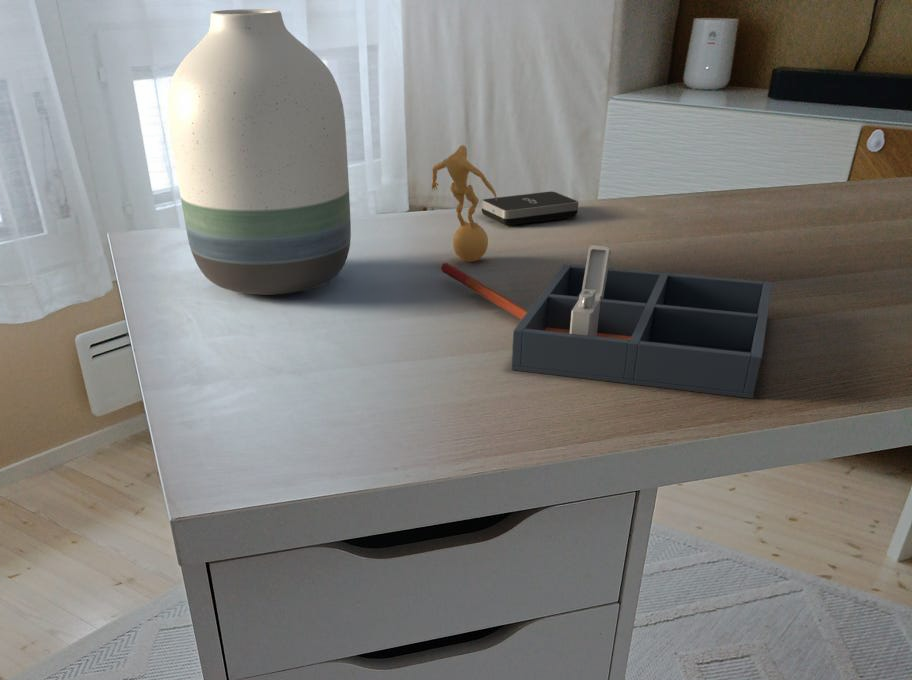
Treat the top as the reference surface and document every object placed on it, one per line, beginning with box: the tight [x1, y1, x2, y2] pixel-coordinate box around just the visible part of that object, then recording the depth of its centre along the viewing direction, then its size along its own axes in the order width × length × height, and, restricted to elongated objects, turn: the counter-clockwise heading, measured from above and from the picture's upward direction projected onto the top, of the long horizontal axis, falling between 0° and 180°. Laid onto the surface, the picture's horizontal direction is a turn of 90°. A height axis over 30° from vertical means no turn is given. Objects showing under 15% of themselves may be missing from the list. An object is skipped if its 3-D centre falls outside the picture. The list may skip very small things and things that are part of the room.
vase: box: [167, 8, 352, 296], centre depth 91 cm, size 17×17×24 cm
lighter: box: [570, 244, 612, 336], centre depth 78 cm, size 7×2×8 cm, turn 161°
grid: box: [511, 263, 773, 399], centre depth 82 cm, size 20×20×3 cm
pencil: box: [440, 262, 547, 328], centre depth 91 cm, size 19×1×1 cm
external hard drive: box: [481, 190, 579, 227], centre depth 119 cm, size 7×11×2 cm, turn 115°
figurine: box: [431, 144, 497, 263], centre depth 100 cm, size 8×6×12 cm
